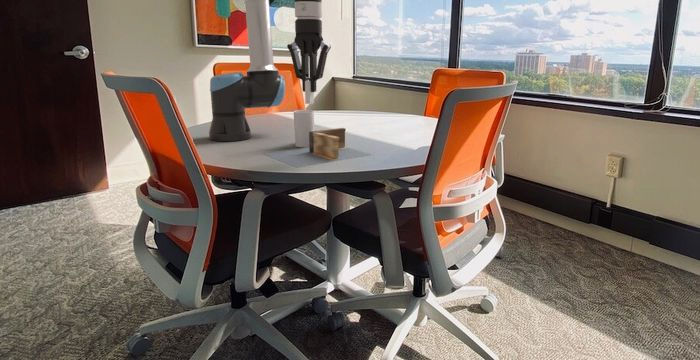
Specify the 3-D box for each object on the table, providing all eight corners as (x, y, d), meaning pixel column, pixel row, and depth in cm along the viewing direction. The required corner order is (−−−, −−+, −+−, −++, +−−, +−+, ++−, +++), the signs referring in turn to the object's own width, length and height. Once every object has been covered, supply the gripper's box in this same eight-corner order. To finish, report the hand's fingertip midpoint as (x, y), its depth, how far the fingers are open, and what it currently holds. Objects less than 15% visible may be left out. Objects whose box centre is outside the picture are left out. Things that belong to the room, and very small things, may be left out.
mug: (316, 148, 154) (315, 112, 150) (295, 149, 152) (294, 112, 149) (311, 142, 163) (311, 108, 160) (292, 143, 162) (291, 108, 158)
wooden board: (312, 152, 144) (312, 132, 143) (317, 151, 145) (317, 132, 144) (334, 158, 136) (334, 137, 135) (339, 157, 138) (339, 137, 136)
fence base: (308, 151, 146) (307, 131, 144) (342, 146, 154) (342, 127, 152) (311, 152, 145) (311, 132, 143) (345, 147, 152) (345, 128, 150)
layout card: (262, 155, 144) (262, 153, 143) (334, 144, 159) (334, 143, 159) (296, 169, 127) (296, 167, 127) (372, 156, 143) (372, 154, 143)
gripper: (281, 18, 128) (283, 103, 135) (324, 18, 124) (324, 106, 130) (293, 19, 135) (295, 100, 142) (335, 19, 130) (334, 103, 137)
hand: (309, 103), depth 136 cm, fingers closed
